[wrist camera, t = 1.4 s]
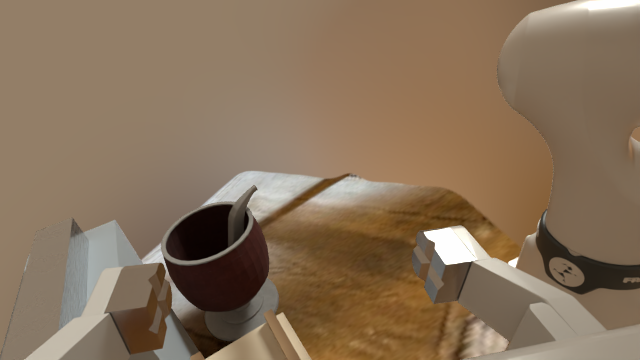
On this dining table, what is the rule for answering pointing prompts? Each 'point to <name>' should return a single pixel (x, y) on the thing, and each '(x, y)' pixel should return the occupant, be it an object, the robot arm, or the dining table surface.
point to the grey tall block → (117, 252)
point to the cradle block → (264, 343)
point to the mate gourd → (222, 266)
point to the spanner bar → (49, 288)
